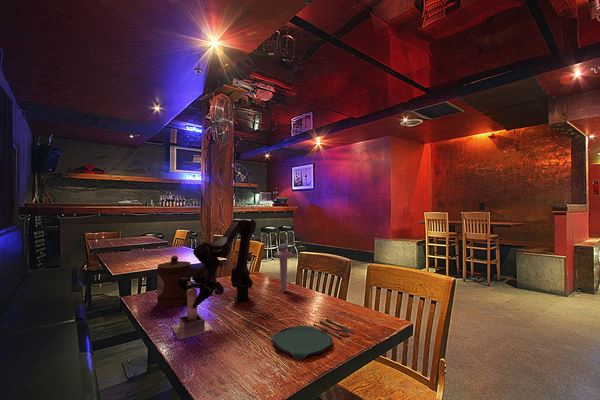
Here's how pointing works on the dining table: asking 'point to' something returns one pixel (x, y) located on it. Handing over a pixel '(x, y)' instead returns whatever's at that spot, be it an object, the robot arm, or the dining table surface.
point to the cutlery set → (306, 339)
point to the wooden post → (191, 305)
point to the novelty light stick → (283, 264)
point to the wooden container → (171, 282)
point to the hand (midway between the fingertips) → (189, 307)
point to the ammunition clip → (234, 264)
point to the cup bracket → (191, 327)
